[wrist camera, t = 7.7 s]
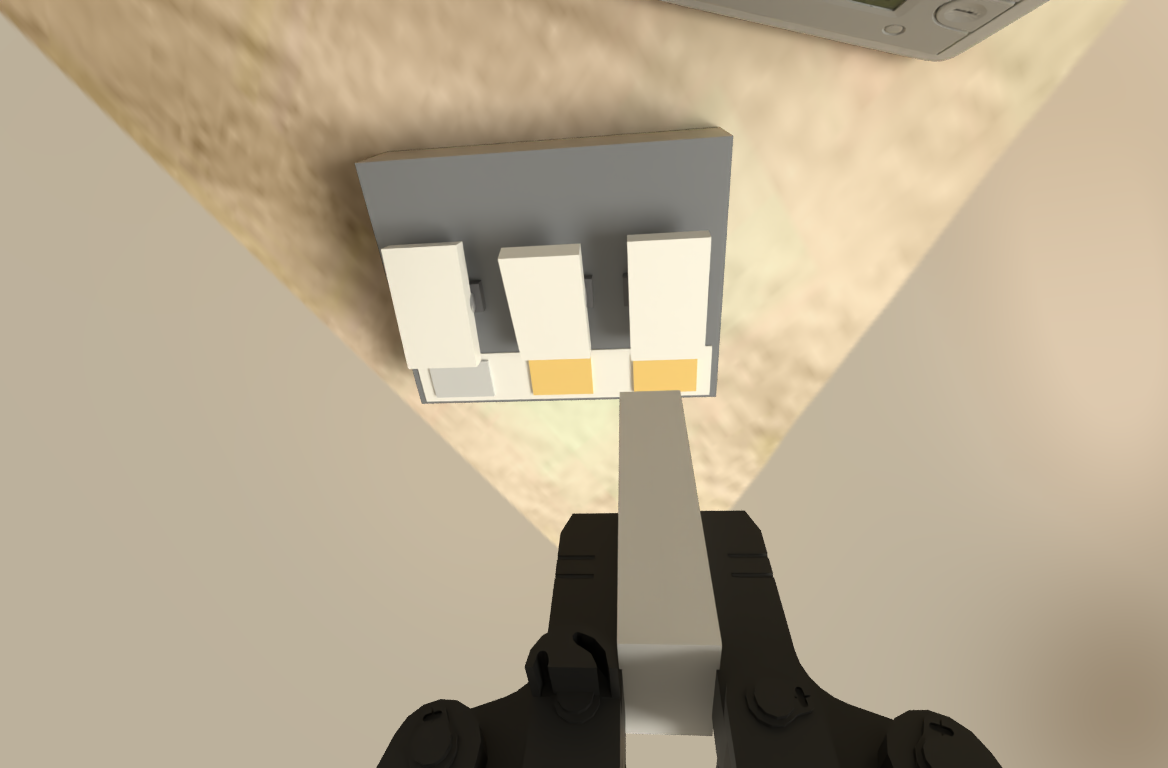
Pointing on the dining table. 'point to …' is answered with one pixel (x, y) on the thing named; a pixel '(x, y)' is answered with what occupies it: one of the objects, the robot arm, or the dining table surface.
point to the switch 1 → (433, 304)
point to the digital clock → (882, 21)
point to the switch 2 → (547, 300)
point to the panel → (554, 217)
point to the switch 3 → (668, 294)
